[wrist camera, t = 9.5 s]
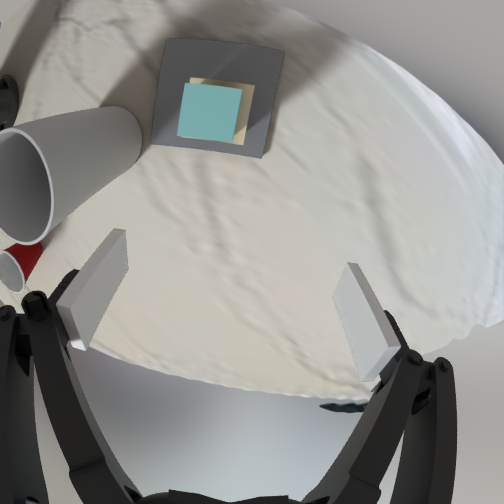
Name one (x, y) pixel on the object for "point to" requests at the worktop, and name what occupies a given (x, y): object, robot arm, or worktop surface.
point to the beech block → (244, 105)
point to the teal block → (209, 112)
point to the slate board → (217, 68)
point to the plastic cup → (18, 265)
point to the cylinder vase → (61, 166)
